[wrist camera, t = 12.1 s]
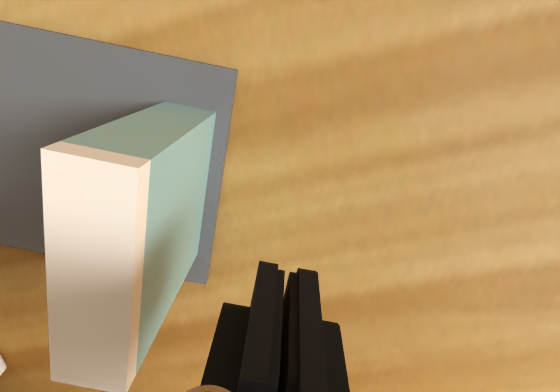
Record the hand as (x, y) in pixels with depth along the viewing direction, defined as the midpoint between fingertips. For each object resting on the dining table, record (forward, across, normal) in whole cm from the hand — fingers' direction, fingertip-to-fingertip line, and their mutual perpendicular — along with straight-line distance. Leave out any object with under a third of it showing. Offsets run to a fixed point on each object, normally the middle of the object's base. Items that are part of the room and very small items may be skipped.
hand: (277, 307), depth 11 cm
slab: (+9, +5, +1) cm, 11 cm away
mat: (+10, +9, +1) cm, 14 cm away
